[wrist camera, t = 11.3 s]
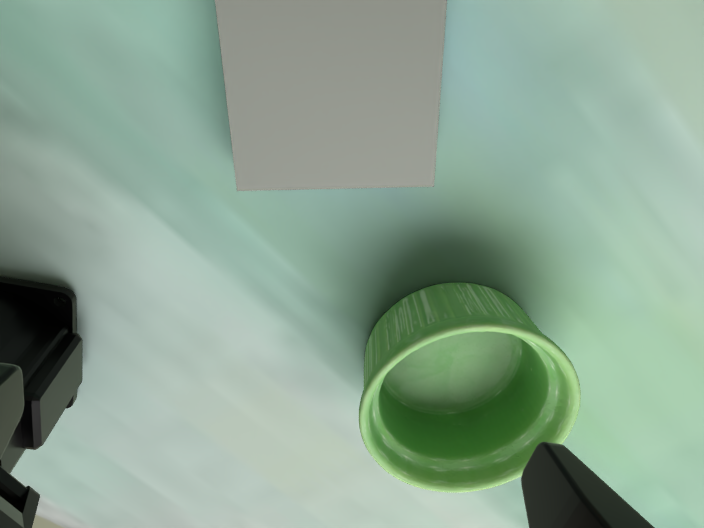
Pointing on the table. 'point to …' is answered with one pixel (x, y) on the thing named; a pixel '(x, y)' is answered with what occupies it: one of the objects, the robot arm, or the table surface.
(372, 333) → the ramekin
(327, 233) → the table surface
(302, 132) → the slate block
